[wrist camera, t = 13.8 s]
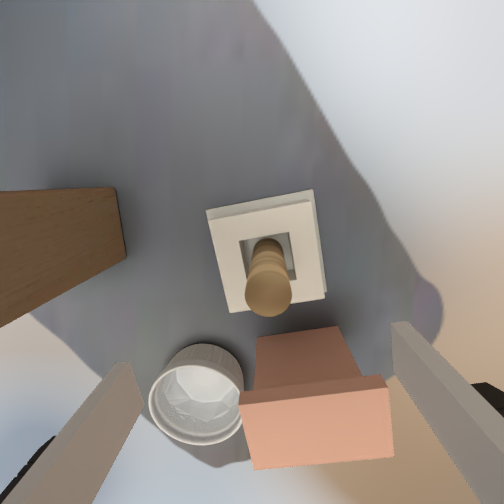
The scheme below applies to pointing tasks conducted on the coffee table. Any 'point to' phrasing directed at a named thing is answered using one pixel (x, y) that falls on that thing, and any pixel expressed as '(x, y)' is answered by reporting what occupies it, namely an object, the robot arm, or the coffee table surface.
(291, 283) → the socket
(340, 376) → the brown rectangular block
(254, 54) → the coffee table surface
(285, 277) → the peg
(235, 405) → the ramekin
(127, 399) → the robot arm
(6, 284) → the wooden block
